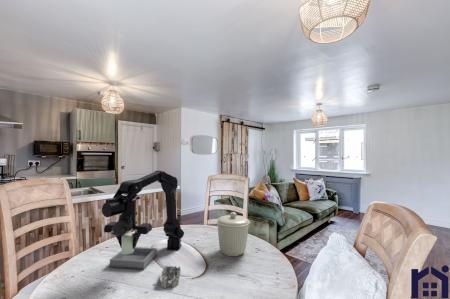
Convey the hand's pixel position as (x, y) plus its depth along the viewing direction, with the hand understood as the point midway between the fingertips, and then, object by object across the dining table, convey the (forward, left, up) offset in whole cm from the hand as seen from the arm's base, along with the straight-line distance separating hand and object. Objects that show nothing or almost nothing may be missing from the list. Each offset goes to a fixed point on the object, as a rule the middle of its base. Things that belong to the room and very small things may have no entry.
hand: (127, 248), depth 93 cm
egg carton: (-19, +1, -12) cm, 23 cm away
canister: (-43, -27, -11) cm, 53 cm away
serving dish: (+3, -11, -11) cm, 16 cm away
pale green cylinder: (0, 0, -2) cm, 2 cm away
